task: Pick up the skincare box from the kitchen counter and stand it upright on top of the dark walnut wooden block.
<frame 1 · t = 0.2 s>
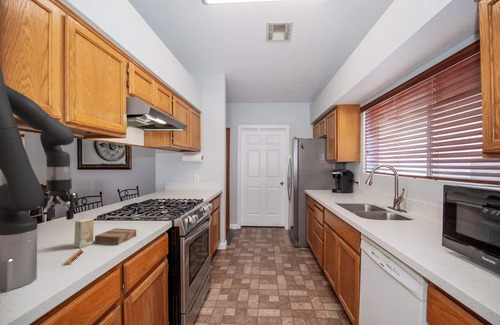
hand: (60, 218, 87), 18 cm above the worktop, tool pointing down, fingers open, 8 cm apart
skincare box: (84, 245, 106), on the worktop
walnut block: (116, 240, 114), on the worktop
chocolate bar: (74, 260, 91), on the worktop
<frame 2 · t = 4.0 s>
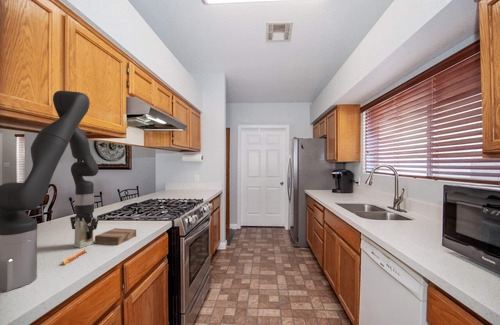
hand: (84, 238, 106), 3 cm above the worktop, tool pointing down, fingers closed on skincare box, 4 cm apart
skincare box: (84, 245, 106), on the worktop, touching gripper
when the fingers open (8 cm above the worktop, at t = 10.5 s): skincare box drops 1 cm, resting on walnut block.
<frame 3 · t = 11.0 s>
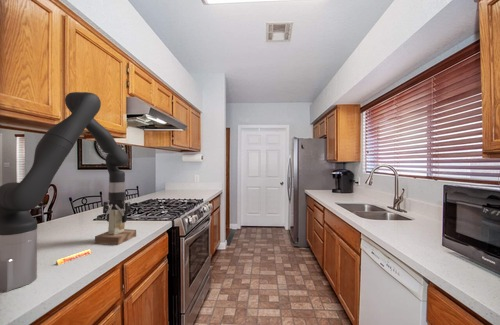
hand: (116, 222, 114), 9 cm above the worktop, tool pointing down, fingers open, 8 cm apart
skincare box: (116, 233, 114), point 3 cm above the worktop, touching walnut block
walnut block: (116, 240, 114), on the worktop, touching skincare box
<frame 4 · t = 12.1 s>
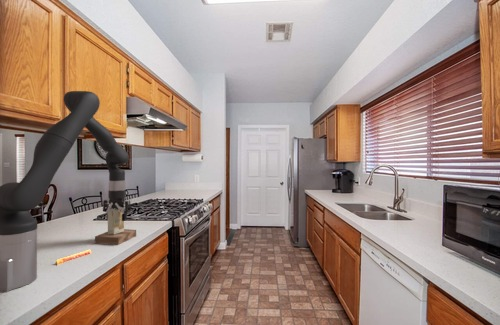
hand: (116, 220, 114), 10 cm above the worktop, tool pointing down, fingers open, 8 cm apart
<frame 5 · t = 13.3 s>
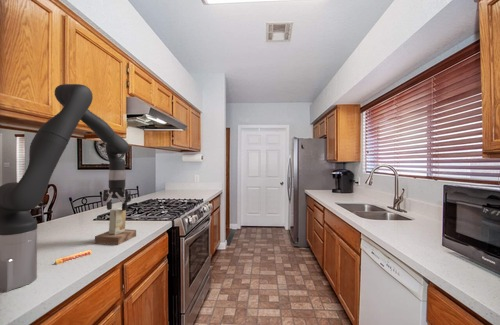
hand: (116, 209, 114), 15 cm above the worktop, tool pointing down, fingers open, 8 cm apart
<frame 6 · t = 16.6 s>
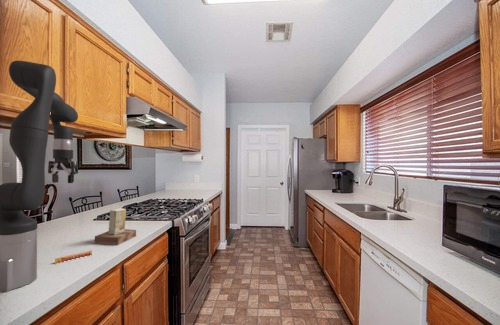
hand: (62, 182, 105), 30 cm above the worktop, tool pointing down, fingers open, 8 cm apart
at the end: skincare box inside the target area on the walnut block (0.4 cm from its centre), point 4.0 cm above the walnut block's base; skincare box tilted 5°; the gripper is holding nothing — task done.
